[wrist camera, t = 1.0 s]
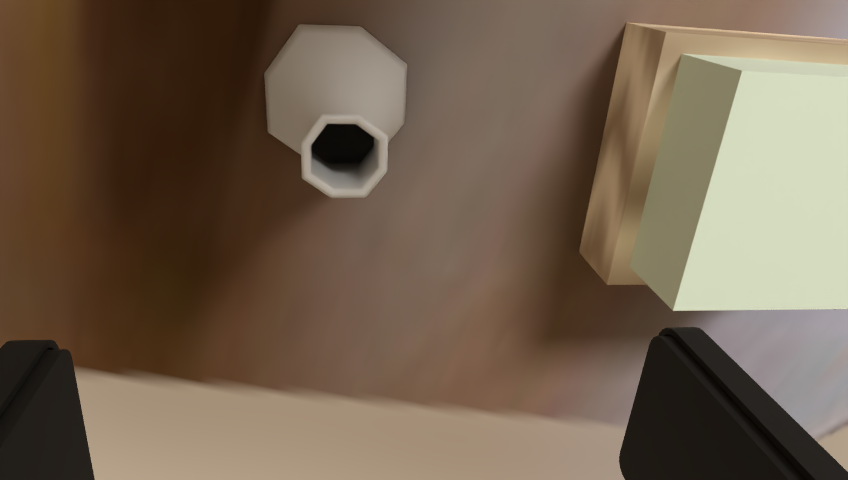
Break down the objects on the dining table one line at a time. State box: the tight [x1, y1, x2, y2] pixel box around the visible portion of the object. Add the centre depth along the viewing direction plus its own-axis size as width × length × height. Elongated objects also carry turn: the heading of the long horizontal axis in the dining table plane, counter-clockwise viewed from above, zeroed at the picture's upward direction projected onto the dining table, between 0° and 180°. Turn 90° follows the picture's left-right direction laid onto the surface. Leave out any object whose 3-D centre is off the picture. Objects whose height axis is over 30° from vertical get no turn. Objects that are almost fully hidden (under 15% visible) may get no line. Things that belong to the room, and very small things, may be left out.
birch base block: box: [579, 22, 848, 285], centre depth 34 cm, size 13×13×4 cm
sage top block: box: [629, 54, 848, 311], centre depth 30 cm, size 11×11×4 cm
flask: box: [264, 24, 407, 198], centre depth 26 cm, size 7×7×10 cm
